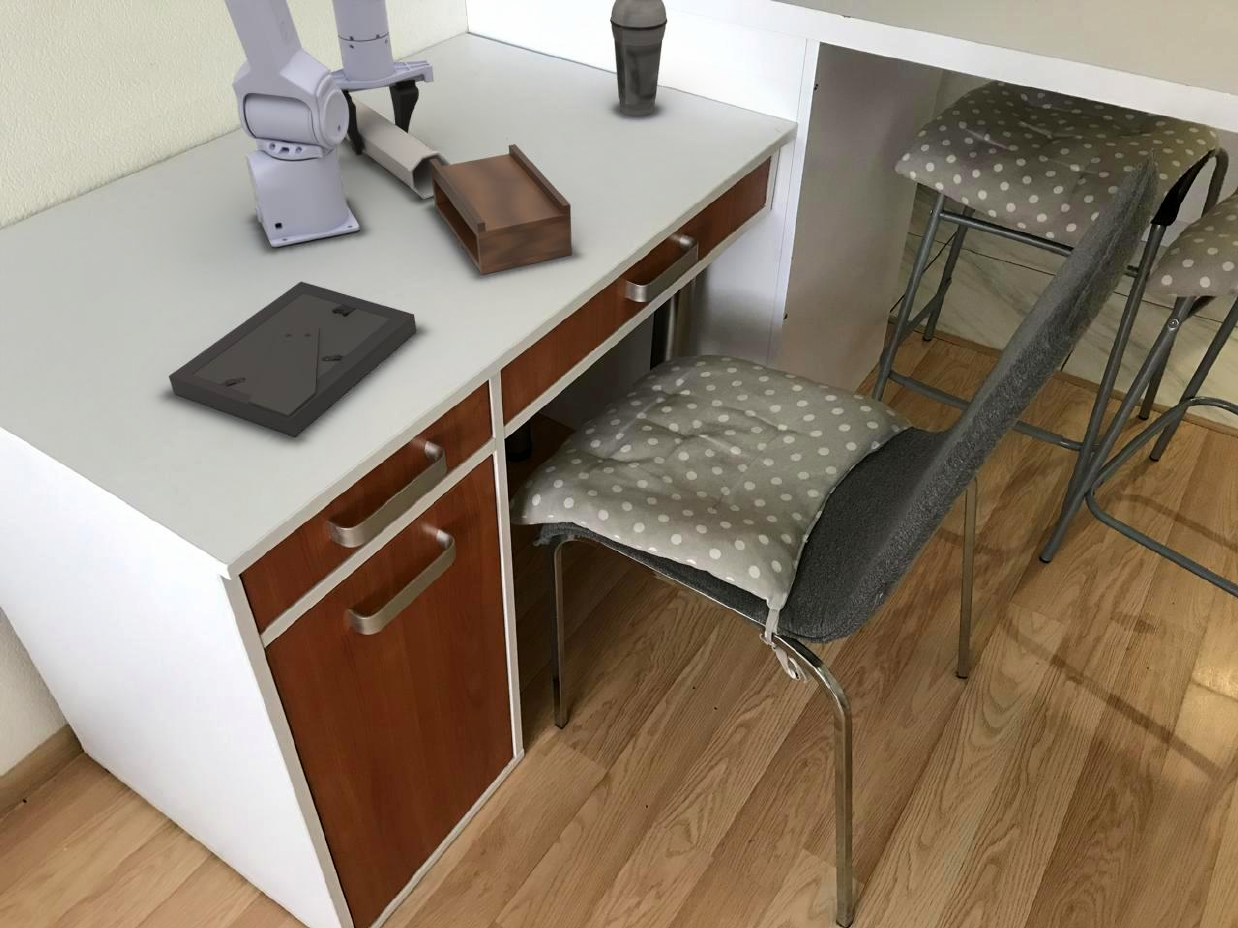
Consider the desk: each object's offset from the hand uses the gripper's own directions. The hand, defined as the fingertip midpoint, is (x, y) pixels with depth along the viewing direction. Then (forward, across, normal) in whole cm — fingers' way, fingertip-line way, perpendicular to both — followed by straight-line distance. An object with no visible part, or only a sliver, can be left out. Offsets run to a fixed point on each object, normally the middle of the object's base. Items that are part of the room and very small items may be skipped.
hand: (380, 147), depth 128 cm
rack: (+1, -7, +23) cm, 24 cm away
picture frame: (+2, +18, +39) cm, 43 cm away
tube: (+2, 0, 0) cm, 2 cm away
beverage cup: (+2, -35, -1) cm, 35 cm away
